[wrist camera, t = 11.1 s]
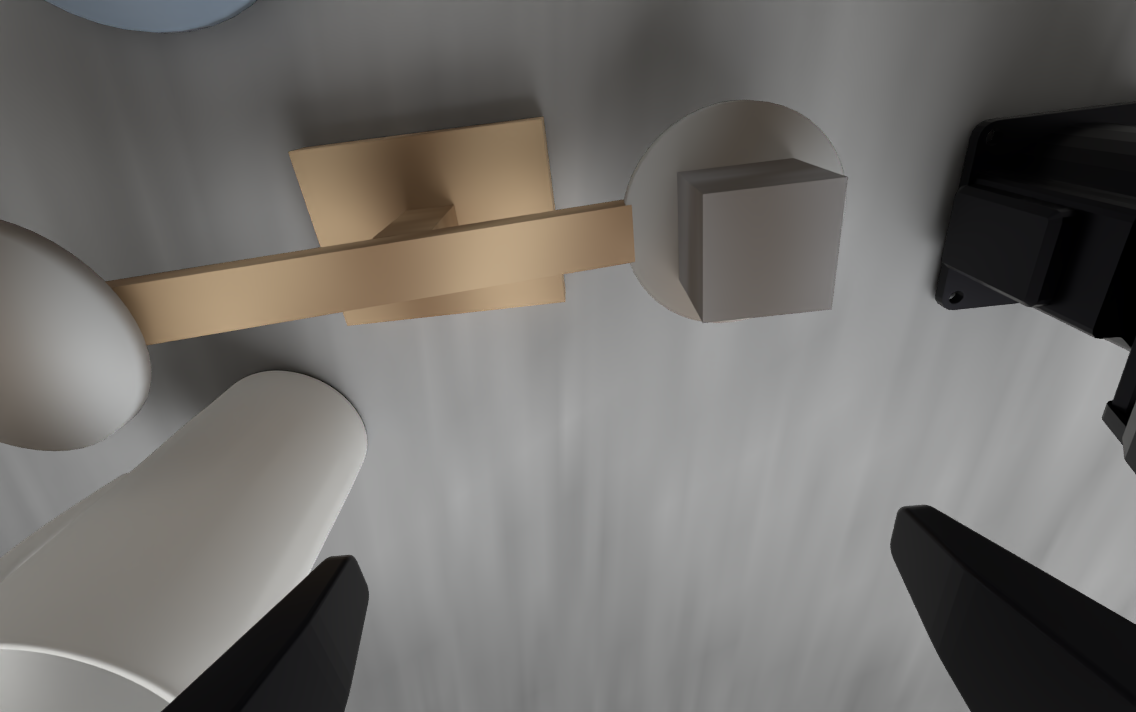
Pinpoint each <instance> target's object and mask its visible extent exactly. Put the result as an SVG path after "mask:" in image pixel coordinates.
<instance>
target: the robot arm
mask: <svg viewBox="0 0 1136 712" xmlns="http://www.w3.org/2000/svg"><path fill="white" fill-rule="evenodd" d="M992 130H994V136H993V138H992V140H991V141H989V142H988V143H986V137H987V135H988V133H989V132H990V131H992ZM942 262H943V263H942V267H941V272H940V277H939V281H938V286H937V290H936V295H935V300H936V301H937V303H938V304H940V305H941V306H943V307H944V308H946V309H948V310H958V309H967V308H977V307H986V306H996V305H1005V304H1015V303H1021V304H1023V305H1025V306H1027V307H1033V308H1035V309H1037V310H1039V311H1041V312H1043V313H1045V314H1048V315H1050V316H1052V317H1054V318H1056V319H1058V320H1060V321H1062V322H1064V323H1066V324H1068V325H1070V326H1072V327H1074V328H1076V329H1078V330H1080V331H1082V332H1084V333H1086V334H1088V335H1090V336H1092V337H1094V338H1099V339H1105V340H1107V341H1110V342H1112V343H1114V344H1116V345H1118V346H1120V347H1122V348H1124V349H1126V350H1128V351H1130V353H1129V356H1128V359H1127V362H1126V365H1125V368H1124V370H1123V373H1122V376H1121V379H1120V382H1119V385H1118V388H1117V390H1116V393H1115V396H1114V399H1113V400H1112V401H1108V403H1107V404H1106V407H1105V410H1104V413H1103V416H1102V420H1103V421H1104V422H1105V424H1106V425H1107V426H1108V427H1109V429H1110V430H1111V431H1112V432H1113V434H1114V435H1115V436H1116V437H1117V439H1118V440H1119V441H1120V442H1121V444H1122V445H1123V450H1124V459H1125V461H1126V462H1127V463H1128V465H1129V466H1130V467H1131V468H1132V470H1133V471H1134V472H1135V474H1136V101H1134V102H1126V103H1118V104H1110V105H1102V106H1093V107H1085V108H1077V109H1069V110H1061V111H1053V112H1045V113H1037V114H1029V115H1021V116H1012V117H1004V118H996V119H989V120H986V121H983V122H981V123H980V124H979V125H977V126H976V128H975V129H974V130H973V131H972V134H971V136H970V139H969V144H968V148H967V153H966V157H965V162H964V167H963V171H962V176H961V180H960V185H959V189H958V192H957V193H956V195H955V200H954V204H953V209H952V214H951V218H950V223H949V228H948V232H947V237H946V241H945V246H944V251H943V255H942ZM953 292H956V295H955V296H954V297H953V298H952V299H949V297H950V295H951V294H952V293H953ZM890 548H891V553H892V556H893V559H894V561H895V563H896V566H897V568H898V570H899V572H900V574H901V577H902V579H903V581H904V583H905V585H906V587H907V590H908V592H909V594H910V596H911V598H912V601H913V603H914V605H915V607H916V609H917V611H918V614H919V616H920V618H921V620H922V622H923V624H924V627H925V629H926V631H927V633H928V635H929V637H930V640H931V642H932V644H933V646H934V648H935V650H936V652H937V654H938V655H939V657H940V659H941V661H942V663H943V664H944V666H945V668H946V670H947V672H948V673H949V675H950V677H951V678H952V680H953V682H954V684H955V685H956V687H957V689H958V690H959V692H960V694H961V696H962V697H963V699H964V701H965V702H966V704H967V706H968V708H969V709H970V711H971V712H1136V624H1134V623H1132V622H1131V621H1129V620H1127V619H1125V618H1124V617H1122V616H1120V615H1118V614H1117V613H1115V612H1113V611H1112V610H1110V609H1108V608H1106V607H1105V606H1103V605H1101V604H1099V603H1098V602H1096V601H1094V600H1093V599H1091V598H1089V597H1087V596H1086V595H1084V594H1082V593H1080V592H1079V591H1077V590H1075V589H1073V588H1072V587H1070V586H1068V585H1067V584H1065V583H1063V582H1061V581H1060V580H1058V579H1056V578H1054V577H1053V576H1051V575H1049V574H1048V573H1046V572H1044V571H1042V570H1041V569H1039V568H1037V567H1035V566H1034V565H1032V564H1030V563H1029V562H1027V561H1025V560H1023V559H1022V558H1020V557H1018V556H1016V555H1015V554H1013V553H1011V552H1010V551H1008V550H1006V549H1004V548H1003V547H1001V546H999V545H997V544H996V543H994V542H992V541H991V540H989V539H987V538H985V537H984V536H982V535H980V534H978V533H977V532H975V531H973V530H972V529H970V528H968V527H966V526H965V525H963V524H961V523H959V522H958V521H956V520H954V519H952V518H951V517H949V516H947V515H946V514H944V513H942V512H940V511H939V510H937V509H935V508H933V507H931V506H928V505H915V506H904V507H901V508H900V509H899V510H898V512H897V516H896V520H895V524H894V529H893V533H892V538H891V543H890ZM368 600H369V591H368V586H367V583H366V581H365V579H364V576H363V574H362V572H361V569H360V567H359V565H358V563H357V560H356V559H355V557H353V556H352V555H341V556H331V557H328V558H327V559H325V560H324V561H323V562H322V563H320V564H319V565H318V566H317V567H316V568H315V569H314V570H313V571H312V572H311V573H310V574H309V575H308V576H306V577H305V578H304V579H303V580H302V581H301V582H300V583H299V584H298V585H297V586H296V587H295V588H294V589H292V590H291V591H290V592H289V593H288V594H287V595H286V596H285V597H284V598H283V599H282V600H281V601H280V602H278V603H277V604H276V605H275V606H274V607H273V608H272V609H271V610H270V611H269V612H268V613H267V614H266V615H264V616H263V617H262V618H261V619H260V620H259V621H258V622H257V623H256V624H255V625H254V626H253V627H252V628H250V629H249V630H248V631H247V632H246V633H245V634H244V635H243V636H242V637H241V638H240V639H239V640H238V641H236V642H235V643H234V644H233V645H232V646H231V647H230V648H229V649H228V650H227V651H226V652H225V653H224V654H222V655H221V656H220V657H219V658H218V659H217V660H216V661H215V662H214V663H213V664H212V665H211V666H209V667H208V668H207V669H206V670H205V671H204V672H203V673H202V674H201V675H200V676H199V677H198V678H197V679H195V680H194V681H193V682H192V683H191V684H190V685H189V686H188V687H187V688H186V689H185V690H184V691H183V692H181V693H180V694H179V695H178V696H177V697H176V698H175V699H174V700H173V701H172V702H171V703H170V704H169V705H167V706H166V707H165V708H164V709H163V710H162V711H161V712H344V711H345V707H346V704H347V700H348V697H349V692H350V688H351V684H352V679H353V675H354V670H355V665H356V660H357V655H358V650H359V645H360V640H361V635H362V630H363V625H364V620H365V616H366V611H367V606H368Z"/></svg>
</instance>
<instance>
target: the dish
mask: <svg viewBox="0 0 1136 712" xmlns="http://www.w3.org/2000/svg"><path fill="white" fill-rule="evenodd" d="M45 1H47V2H49V3H51V4H53V5H55V6H57V7H59V8H61V9H63V10H65V11H67V12H69V13H71V14H74V15H77V16H80V17H82V18H85V19H88V20H91V21H93V22H96V23H99V24H104V25H108V26H113V27H117V28H121V29H126V30H135V31H145V32H156V33H178V32H190V31H195V30H199V29H203V28H208V27H212V26H214V25H217V24H219V23H221V22H224V21H226V20H229V19H231V18H233V17H235V16H236V15H238V14H239V13H241V12H242V11H244V10H245V9H247V8H248V7H250V6H251V5H253V4H254V3H255V2H256V1H257V0H45Z"/></svg>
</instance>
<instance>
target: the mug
mask: <svg viewBox="0 0 1136 712" xmlns="http://www.w3.org/2000/svg"><path fill="white" fill-rule="evenodd" d="M366 451H367V434H366V430H365V427H364V424H363V422H362V420H361V418H360V416H359V414H358V413H357V411H356V410H355V408H354V407H353V406H352V405H351V403H350V402H349V401H348V400H347V399H346V398H345V397H344V396H343V395H341V394H340V393H339V392H338V391H336V390H335V389H334V388H332V387H331V386H329V385H327V384H325V383H324V382H322V381H320V380H317V379H315V378H313V377H310V376H307V375H304V374H300V373H295V372H289V371H265V372H259V373H256V374H252V375H250V376H247V377H245V378H243V379H241V380H239V381H238V382H236V383H235V384H234V385H232V386H231V387H230V388H229V389H228V390H226V391H225V392H224V393H223V394H222V395H221V396H219V397H218V398H217V399H216V400H215V401H213V402H212V403H211V404H210V405H209V406H207V407H206V408H205V409H204V410H202V411H201V412H200V413H199V414H197V415H196V416H195V417H194V418H192V419H191V420H190V421H189V422H188V423H186V424H185V425H184V426H183V427H182V428H181V429H179V430H178V431H177V432H176V433H175V434H174V435H173V436H171V437H170V438H169V439H168V440H167V441H166V442H165V443H163V444H162V445H161V446H160V447H159V448H158V449H156V450H155V451H154V452H153V453H152V454H151V455H149V456H148V457H147V458H146V459H145V460H144V461H143V462H141V463H140V464H139V465H138V466H137V467H136V468H134V469H133V470H132V471H131V472H130V473H126V474H123V475H121V476H119V477H118V478H116V479H114V480H113V481H111V482H110V483H108V484H106V485H105V486H103V487H102V488H100V489H99V490H97V491H96V492H94V493H93V494H91V495H89V496H88V497H86V498H85V499H83V500H82V501H80V502H79V503H77V504H75V505H74V506H72V507H71V508H69V509H68V510H66V511H65V512H63V513H62V514H60V515H59V516H57V517H56V518H54V519H53V520H51V521H50V522H48V523H47V524H45V525H44V526H43V527H41V528H40V529H38V530H37V531H35V532H34V533H33V534H31V535H30V536H29V537H27V538H26V539H24V540H23V541H22V542H20V543H19V544H18V545H16V546H15V547H14V548H13V549H11V550H10V551H9V552H7V553H6V554H5V555H4V556H2V557H1V558H0V712H161V711H162V710H163V709H164V708H165V707H166V706H167V705H169V704H170V703H171V702H172V701H173V700H174V699H175V698H176V697H177V696H178V695H179V694H180V693H181V692H183V691H184V690H185V689H186V688H187V687H188V686H189V685H190V684H191V683H192V682H193V681H194V680H195V679H197V678H198V677H199V676H200V675H201V674H202V673H203V672H204V671H205V670H206V669H207V668H208V667H209V666H211V665H212V664H213V663H214V662H215V661H216V660H217V659H218V658H219V657H220V656H221V655H222V654H224V653H225V652H226V651H227V650H228V649H229V648H230V647H231V646H232V645H233V644H234V643H235V642H236V641H238V640H239V639H240V638H241V637H242V636H243V635H244V634H245V633H246V632H247V631H248V630H249V629H250V628H252V627H253V626H254V625H255V624H256V623H257V622H258V621H259V620H260V619H261V618H262V617H263V616H264V615H266V614H267V613H268V612H269V611H270V610H271V609H272V608H273V607H274V606H275V605H276V604H277V603H278V602H280V601H281V600H282V599H283V598H284V597H285V596H286V595H287V594H288V593H289V592H290V591H291V590H292V589H294V588H295V587H296V586H297V585H298V584H299V583H300V582H301V581H302V580H303V579H304V578H305V577H306V576H308V575H309V573H310V571H311V569H312V567H313V565H314V563H315V561H316V559H317V557H318V555H319V553H320V551H321V549H322V546H323V544H324V542H325V540H326V538H327V536H328V534H329V532H330V530H331V528H332V526H333V524H334V522H335V520H336V518H337V516H338V514H339V512H340V510H341V508H342V506H343V504H344V502H345V500H346V498H347V496H348V494H349V492H350V490H351V488H352V486H353V483H354V481H355V479H356V477H357V475H358V473H359V470H360V468H361V466H362V464H363V461H364V459H365V456H366Z"/></svg>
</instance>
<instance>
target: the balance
mask: <svg viewBox="0 0 1136 712" xmlns="http://www.w3.org/2000/svg"><path fill="white" fill-rule="evenodd" d="M288 153H289V156H290V159H291V162H292V165H293V168H294V170H295V173H296V176H297V179H298V182H299V185H300V188H301V191H302V194H303V197H304V200H305V203H306V206H307V209H308V211H309V214H310V217H311V220H312V223H313V226H314V229H315V232H316V235H317V238H318V241H319V244H320V248H314V249H307V250H301V251H295V252H289V253H282V254H276V255H270V256H263V257H257V258H251V259H244V260H238V261H232V262H225V263H219V264H213V265H206V266H200V267H194V268H187V269H181V270H175V271H168V272H162V273H156V274H149V275H143V276H137V277H130V278H124V279H118V280H111V281H104V280H103V279H102V278H101V277H100V276H99V275H97V274H96V273H95V272H94V271H93V270H92V269H91V268H90V267H89V266H87V265H86V264H85V263H83V262H82V261H81V260H79V259H78V258H77V257H75V256H74V255H73V254H71V253H70V252H68V251H67V250H65V249H64V248H62V247H60V246H59V245H57V244H56V243H54V242H52V241H50V240H48V239H46V238H45V237H43V236H41V235H39V234H37V233H35V232H33V231H30V230H28V229H25V228H23V227H20V226H18V225H16V224H13V223H9V222H6V221H3V220H0V442H2V443H5V444H9V445H13V446H17V447H21V448H27V449H34V450H43V451H67V450H74V449H80V448H84V447H88V446H91V445H94V444H96V443H98V442H100V441H102V440H105V439H106V438H108V437H109V436H110V435H112V434H113V433H115V432H116V431H117V430H118V429H120V428H121V427H122V426H124V425H125V424H126V423H127V422H129V421H130V420H131V419H132V418H133V417H134V416H135V415H136V414H137V413H138V412H139V411H140V409H141V408H142V406H143V405H144V403H145V401H146V399H147V396H148V393H149V391H150V385H151V362H150V356H149V352H148V349H147V345H152V344H158V343H164V342H169V341H175V340H181V339H187V338H193V337H199V336H205V335H210V334H216V333H222V332H228V331H234V330H240V329H245V328H251V327H257V326H263V325H269V324H275V323H281V322H286V321H292V320H298V319H304V318H310V317H316V316H322V315H327V314H333V313H339V312H343V314H344V317H345V320H346V323H347V326H350V325H359V324H368V323H377V322H386V321H395V320H404V319H414V318H423V317H432V316H441V315H450V314H459V313H468V312H477V311H486V310H495V309H504V308H513V307H523V306H532V305H541V304H550V303H559V302H565V283H564V275H563V274H567V273H573V272H579V271H585V270H591V269H597V268H603V267H608V266H614V265H620V264H626V263H630V265H631V267H632V269H633V272H634V274H635V275H636V277H637V279H638V280H639V282H640V284H641V285H642V286H643V287H644V289H645V290H646V291H647V292H648V294H649V295H650V296H652V297H653V298H654V299H655V300H656V301H657V302H658V303H660V304H661V305H663V306H664V307H665V308H667V309H668V310H670V311H672V312H674V313H676V314H678V315H681V316H683V317H686V318H689V319H693V320H698V321H702V322H703V323H708V322H713V323H724V322H735V321H741V320H746V319H749V318H755V317H765V316H774V315H783V314H793V313H802V312H812V311H821V310H830V309H832V302H833V294H834V286H835V277H836V269H837V261H838V253H839V245H840V237H841V228H842V224H843V220H844V214H845V208H846V188H847V180H848V177H846V176H844V173H843V168H842V165H841V162H840V160H839V157H838V155H837V152H836V150H835V149H834V147H833V145H832V144H831V142H830V140H829V139H828V138H827V136H826V135H825V134H824V133H823V132H822V130H821V129H820V128H819V127H818V126H816V125H815V124H814V123H813V122H812V121H811V120H810V119H808V118H806V117H805V116H803V115H802V114H800V113H798V112H797V111H794V110H792V109H790V108H787V107H785V106H782V105H778V104H774V103H770V102H763V101H753V100H734V101H726V102H721V103H716V104H713V105H710V106H707V107H704V108H701V109H699V110H697V111H695V112H693V113H691V114H689V115H687V116H685V117H683V118H682V119H680V120H679V121H677V122H676V123H674V124H673V125H671V126H670V127H669V128H668V129H667V130H666V131H664V132H663V133H662V134H661V135H660V136H659V137H658V138H657V139H656V140H655V141H654V142H653V143H652V145H651V146H650V147H649V148H648V149H647V151H646V152H645V154H644V155H643V156H642V158H641V159H640V161H639V163H638V165H637V166H636V168H635V170H634V172H633V174H632V176H631V179H630V182H629V184H628V187H627V190H626V194H625V198H624V200H617V201H611V202H605V203H598V204H592V205H586V206H579V207H573V208H567V209H560V210H555V204H554V196H553V188H552V180H551V173H550V165H549V157H548V149H547V141H546V133H545V125H544V117H536V118H528V119H520V120H513V121H505V122H497V123H489V124H482V125H474V126H466V127H458V128H451V129H443V130H435V131H428V132H420V133H412V134H404V135H397V136H389V137H381V138H373V139H366V140H358V141H350V142H342V143H335V144H327V145H319V146H312V147H304V148H301V149H297V150H293V151H289V152H288Z"/></svg>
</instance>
